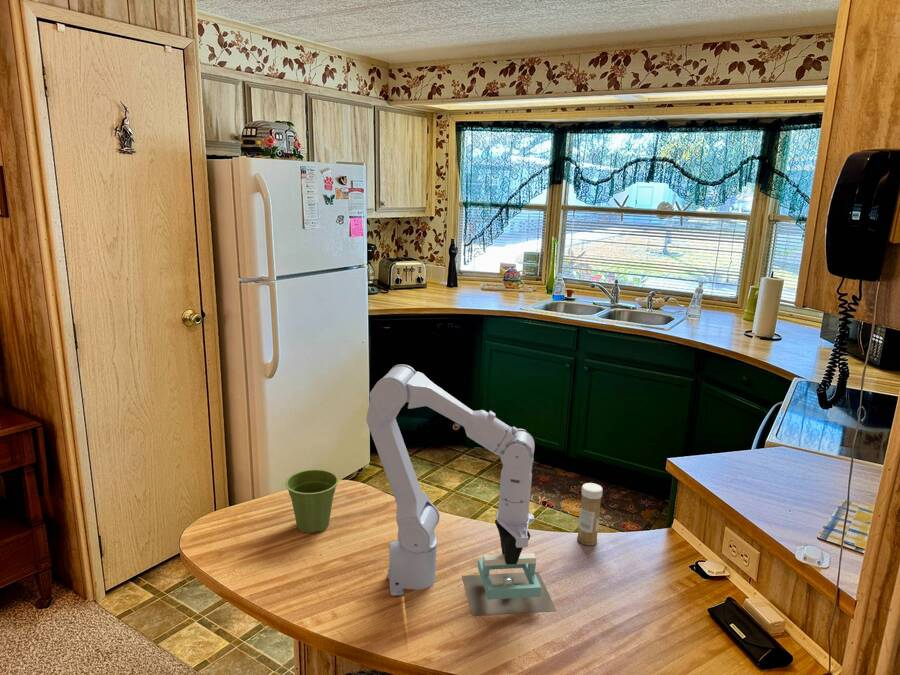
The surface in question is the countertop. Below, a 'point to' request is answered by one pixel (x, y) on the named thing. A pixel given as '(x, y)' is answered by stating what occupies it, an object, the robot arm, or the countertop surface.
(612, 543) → the countertop surface
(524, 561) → the teal square frame
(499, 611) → the post stand
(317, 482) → the plant pot
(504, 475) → the robot arm
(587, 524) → the sprinkles bottle
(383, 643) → the countertop surface
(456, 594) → the countertop surface
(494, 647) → the countertop surface
